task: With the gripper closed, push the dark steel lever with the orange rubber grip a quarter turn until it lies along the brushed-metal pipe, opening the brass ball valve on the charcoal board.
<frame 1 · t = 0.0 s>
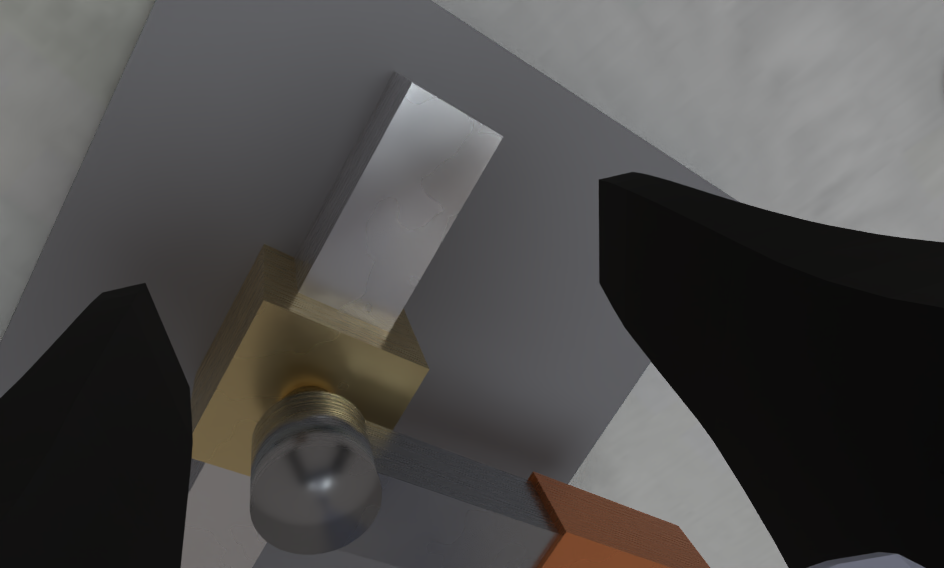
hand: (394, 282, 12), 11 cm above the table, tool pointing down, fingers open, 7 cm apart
mounting board: (341, 367, 24), on the table
valve lever: (498, 530, 17), point 8 cm above the table, hinge at 0.0°
ball valve: (299, 318, 23), resting on mounting board
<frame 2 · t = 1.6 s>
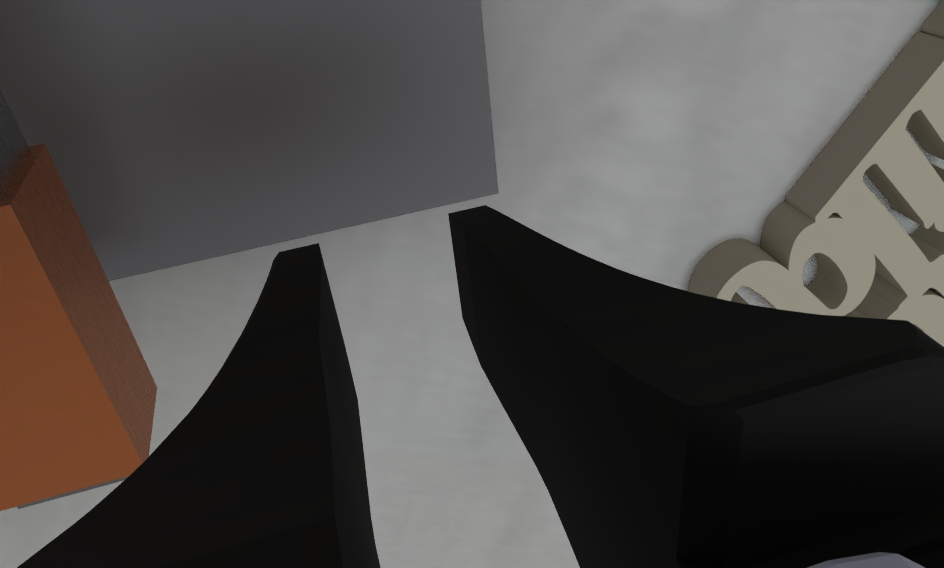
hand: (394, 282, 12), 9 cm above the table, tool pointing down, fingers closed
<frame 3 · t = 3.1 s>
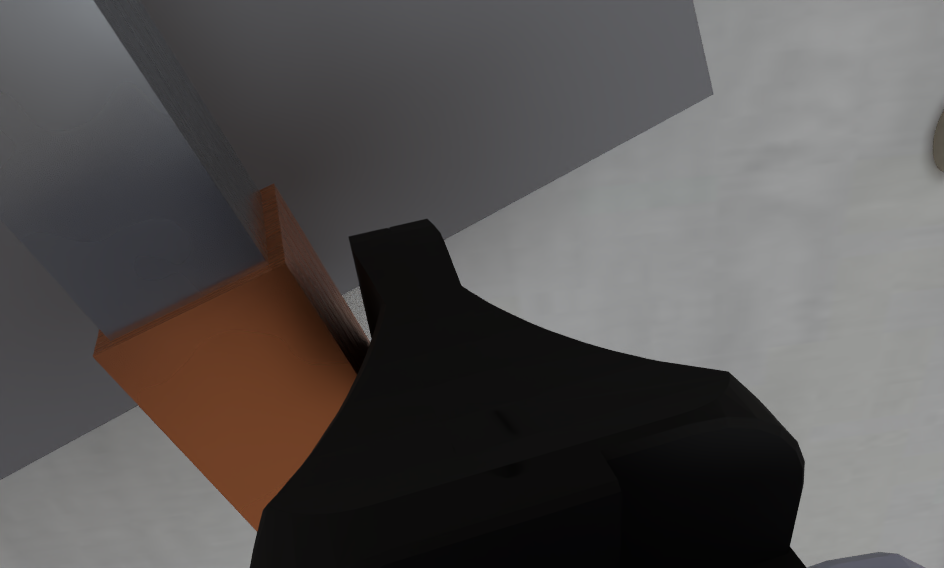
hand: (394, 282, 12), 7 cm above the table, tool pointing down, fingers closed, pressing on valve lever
valve lever: (157, 213, 9), point 8 cm above the table, hinge at 3.1°, touching gripper
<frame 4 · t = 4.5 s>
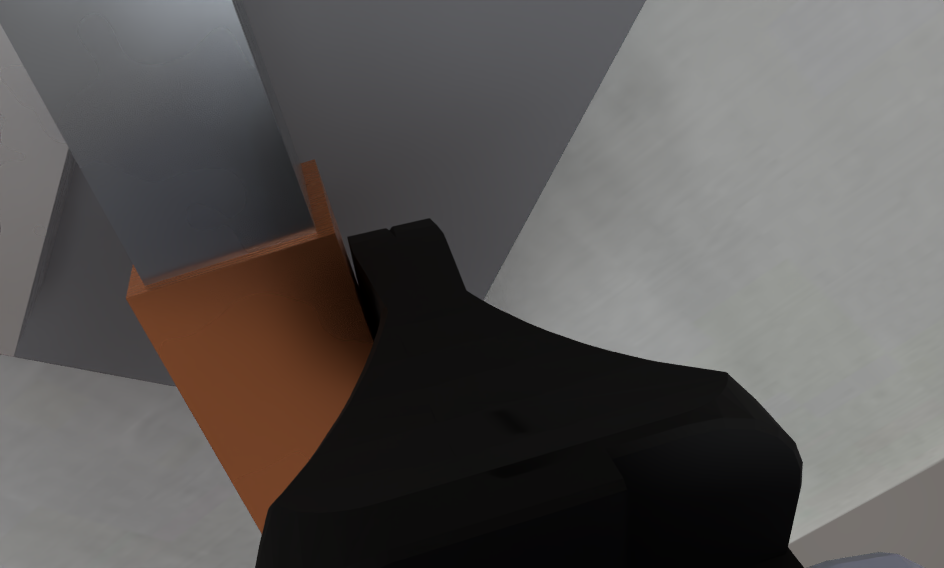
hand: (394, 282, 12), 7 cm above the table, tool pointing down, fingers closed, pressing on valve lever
valve lever: (208, 167, 9), point 8 cm above the table, hinge at 51.7°, touching gripper
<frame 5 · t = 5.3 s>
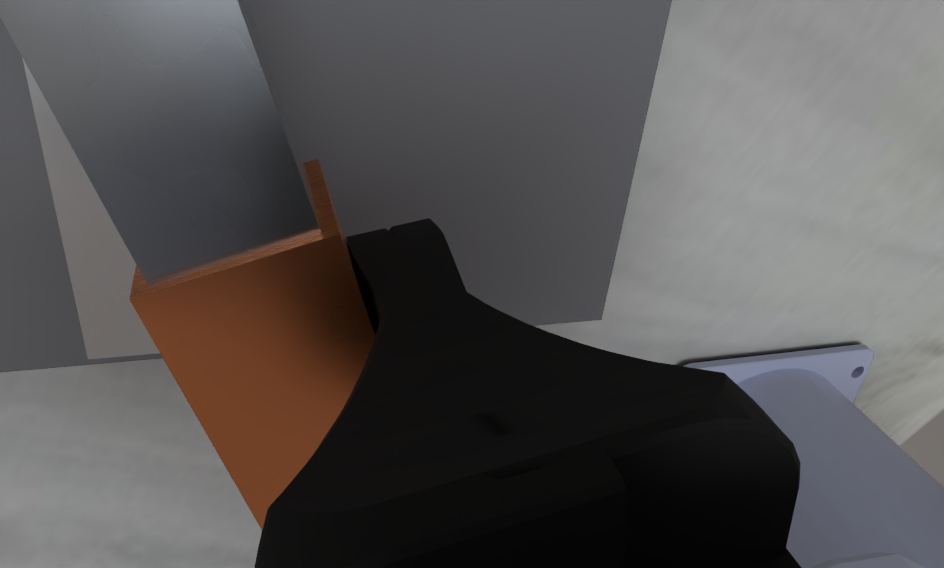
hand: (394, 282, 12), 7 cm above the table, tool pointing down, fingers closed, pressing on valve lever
valve lever: (211, 167, 9), point 8 cm above the table, hinge at 73.3°, touching gripper
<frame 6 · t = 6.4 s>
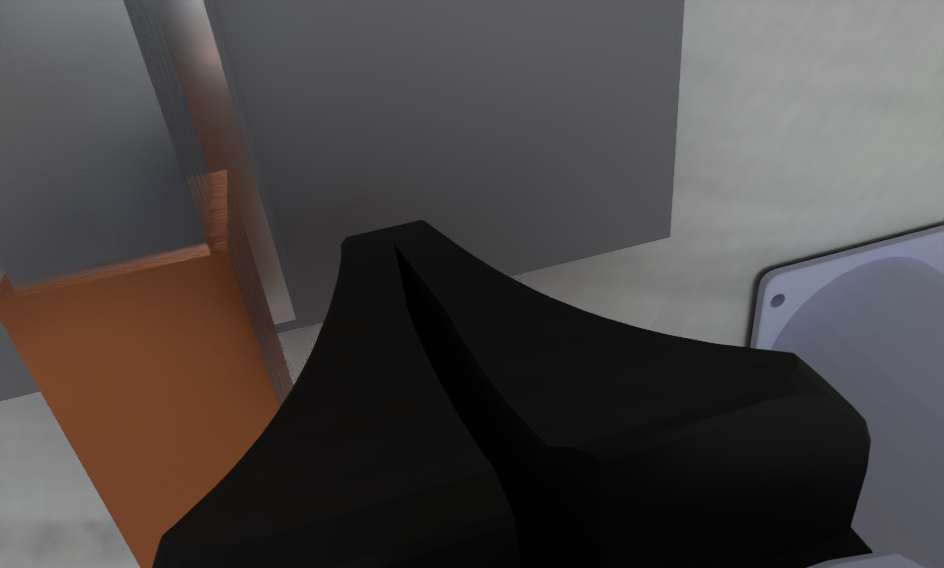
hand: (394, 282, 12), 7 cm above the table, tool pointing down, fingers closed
valve lever: (100, 169, 8), point 8 cm above the table, hinge at 90.2°
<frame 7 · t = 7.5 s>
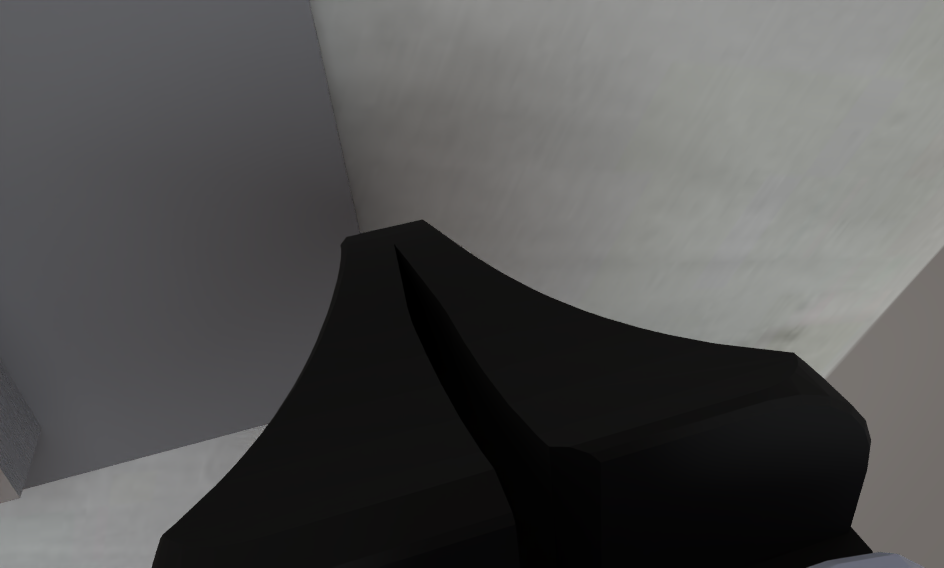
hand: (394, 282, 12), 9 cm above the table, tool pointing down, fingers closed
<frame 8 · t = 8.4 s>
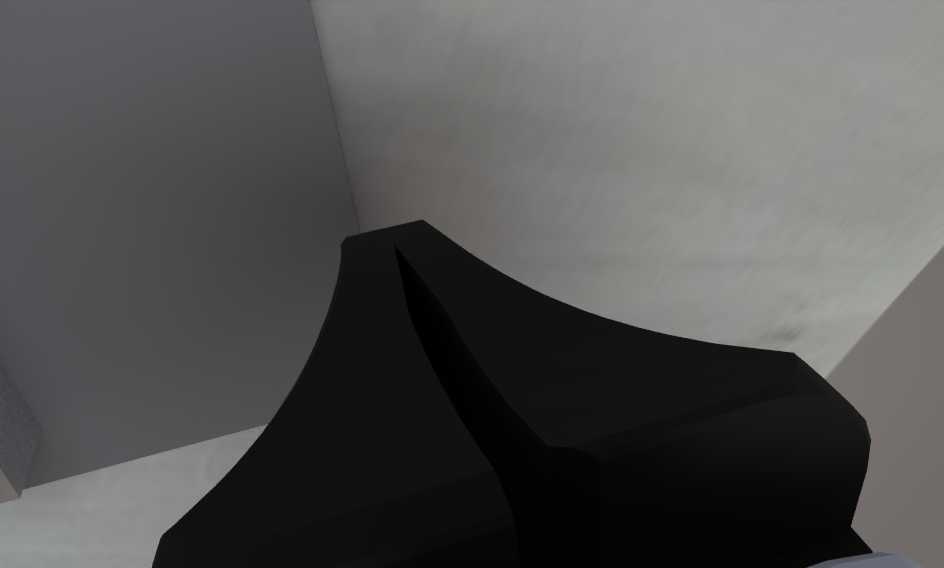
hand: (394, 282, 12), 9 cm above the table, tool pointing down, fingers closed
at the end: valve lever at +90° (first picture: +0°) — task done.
